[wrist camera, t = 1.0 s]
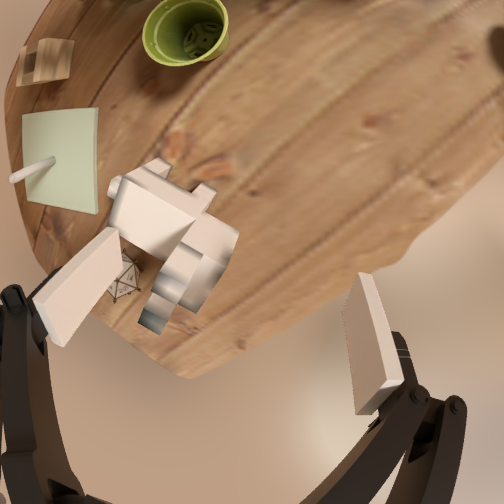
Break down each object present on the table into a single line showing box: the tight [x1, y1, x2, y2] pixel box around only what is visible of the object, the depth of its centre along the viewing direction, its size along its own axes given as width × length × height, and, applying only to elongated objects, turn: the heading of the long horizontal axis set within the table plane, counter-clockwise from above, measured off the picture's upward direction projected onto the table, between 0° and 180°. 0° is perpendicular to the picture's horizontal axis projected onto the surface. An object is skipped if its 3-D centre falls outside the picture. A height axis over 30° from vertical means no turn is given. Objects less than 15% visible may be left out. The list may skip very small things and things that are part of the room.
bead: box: [16, 38, 75, 87], centre depth 25 cm, size 7×7×7 cm
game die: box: [107, 249, 144, 304], centre depth 43 cm, size 9×8×10 cm
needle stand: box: [9, 107, 99, 215], centre depth 33 cm, size 18×20×12 cm
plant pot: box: [142, 0, 229, 66], centre depth 24 cm, size 9×9×9 cm
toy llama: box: [107, 158, 240, 335], centre depth 31 cm, size 8×18×20 cm, turn 59°
